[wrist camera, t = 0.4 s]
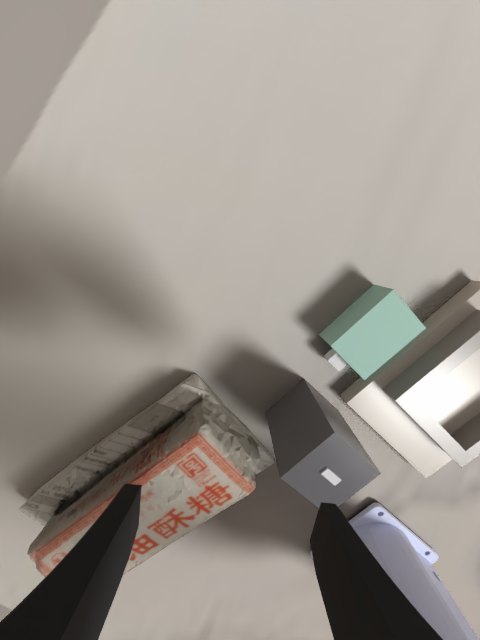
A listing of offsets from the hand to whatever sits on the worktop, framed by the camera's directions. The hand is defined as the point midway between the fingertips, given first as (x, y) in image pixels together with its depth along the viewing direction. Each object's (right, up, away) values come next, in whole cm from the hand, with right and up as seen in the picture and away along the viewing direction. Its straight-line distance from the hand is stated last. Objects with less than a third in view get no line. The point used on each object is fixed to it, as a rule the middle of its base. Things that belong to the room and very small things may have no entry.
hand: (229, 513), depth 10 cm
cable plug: (+9, +7, +9) cm, 14 cm away
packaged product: (-7, -5, +12) cm, 14 cm away
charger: (+5, +1, +10) cm, 11 cm away
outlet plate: (+16, +3, +10) cm, 19 cm away
